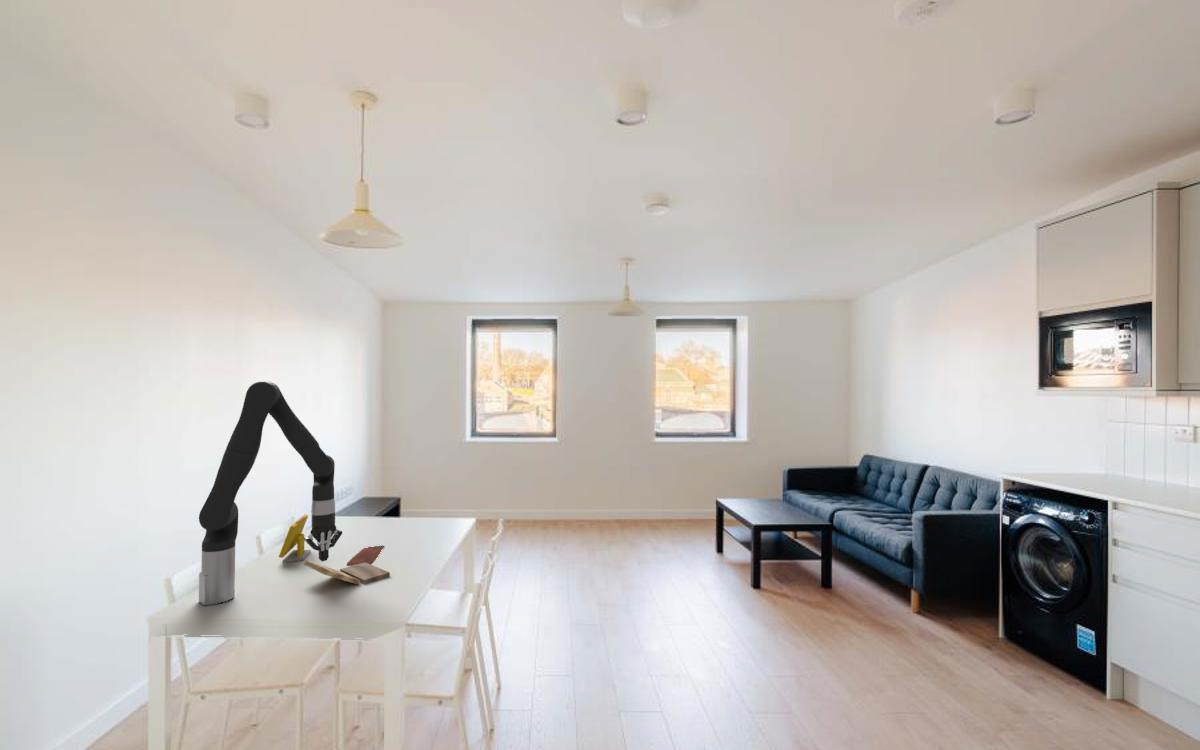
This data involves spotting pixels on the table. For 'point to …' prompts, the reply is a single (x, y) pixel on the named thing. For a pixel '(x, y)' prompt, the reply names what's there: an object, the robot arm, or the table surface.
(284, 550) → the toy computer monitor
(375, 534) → the table surface
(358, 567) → the walnut board
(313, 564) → the light wood board
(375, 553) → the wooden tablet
